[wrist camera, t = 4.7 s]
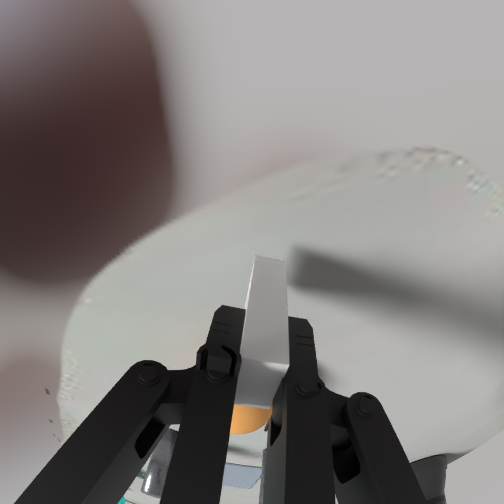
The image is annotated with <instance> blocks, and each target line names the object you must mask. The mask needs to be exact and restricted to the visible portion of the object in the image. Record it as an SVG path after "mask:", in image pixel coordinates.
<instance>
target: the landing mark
mask: <svg viewBox="0 0 504 504" xmlns="http://www.w3.org/2000/svg"><path fill="white" fill-rule="evenodd" d="M261 472H262V467H253V466H245V465H237V464H231V463H225V469H224V476H223V482H222V485H224V486H231V487H238V488H247V489H250V488H251V487H252V486H253V485H254V484H255V482H256V481H257V480H258V479H259V478H260V476H261Z"/></svg>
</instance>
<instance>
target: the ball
mask: <svg viewBox="0 0 504 504" xmlns="http://www.w3.org/2000/svg"><path fill="white" fill-rule="evenodd" d="M271 414H272V405H271V407H270V409H262V408H255V407H248V406H242V405H236V404H234V409H233V415H232V422H231V429H230V434H246V433H250V432H253V431H255V430H257V429H259V428H261V427H262V426H263V425H265V424H266V423H267V422H268V420H269V418H270V416H271Z"/></svg>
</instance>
